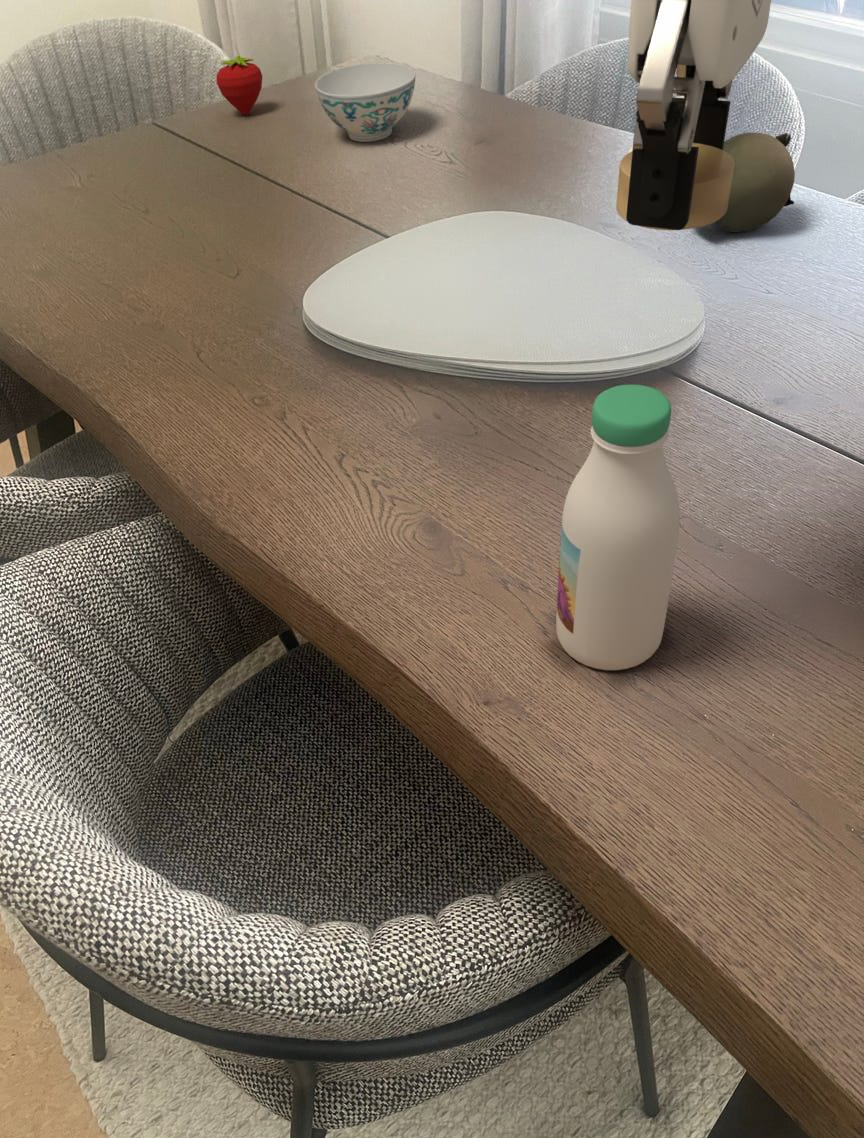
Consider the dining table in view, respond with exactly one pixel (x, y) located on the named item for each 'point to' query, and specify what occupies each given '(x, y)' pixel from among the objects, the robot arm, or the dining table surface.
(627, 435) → the milk bottle
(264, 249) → the dining table surface
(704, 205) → the tan short cylinder
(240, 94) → the strawberry
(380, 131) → the chinaware
